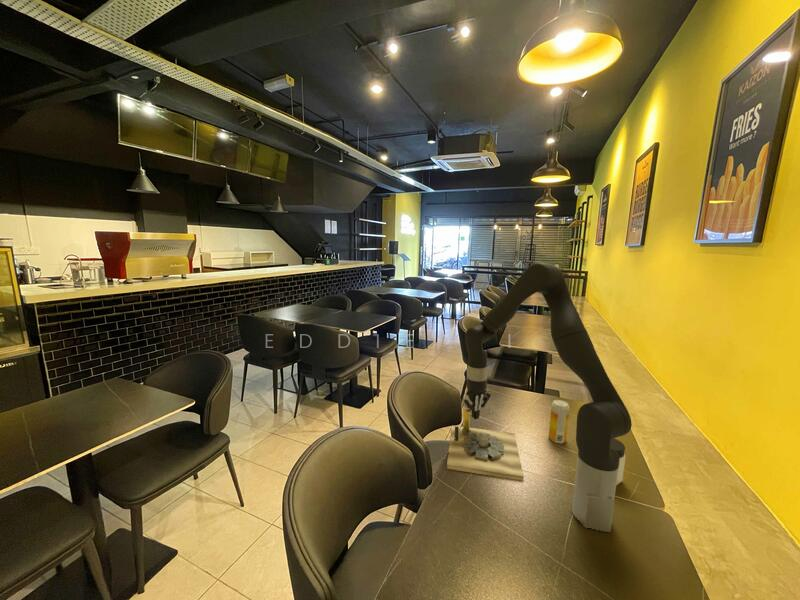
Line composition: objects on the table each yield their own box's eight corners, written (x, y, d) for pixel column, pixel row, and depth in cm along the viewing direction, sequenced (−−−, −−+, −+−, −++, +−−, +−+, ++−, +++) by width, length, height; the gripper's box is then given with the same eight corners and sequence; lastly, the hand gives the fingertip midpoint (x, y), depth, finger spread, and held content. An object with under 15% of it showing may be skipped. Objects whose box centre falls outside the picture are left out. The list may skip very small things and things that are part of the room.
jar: (589, 479, 100) (593, 445, 98) (588, 464, 107) (592, 432, 105) (623, 490, 96) (628, 454, 94) (620, 473, 103) (625, 440, 101)
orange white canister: (562, 435, 124) (565, 399, 121) (568, 445, 118) (572, 407, 115) (546, 434, 125) (549, 398, 122) (552, 443, 119) (555, 406, 116)
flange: (512, 453, 110) (514, 428, 109) (480, 464, 104) (481, 439, 103) (478, 426, 127) (479, 405, 125) (449, 435, 121) (449, 412, 119)
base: (523, 480, 100) (524, 462, 99) (446, 468, 105) (447, 450, 104) (514, 436, 123) (515, 421, 122) (451, 428, 128) (452, 413, 127)
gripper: (468, 383, 114) (467, 427, 117) (497, 376, 120) (495, 418, 123) (456, 375, 121) (455, 417, 124) (484, 369, 127) (482, 409, 130)
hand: (475, 418), depth 124 cm, fingers closed
